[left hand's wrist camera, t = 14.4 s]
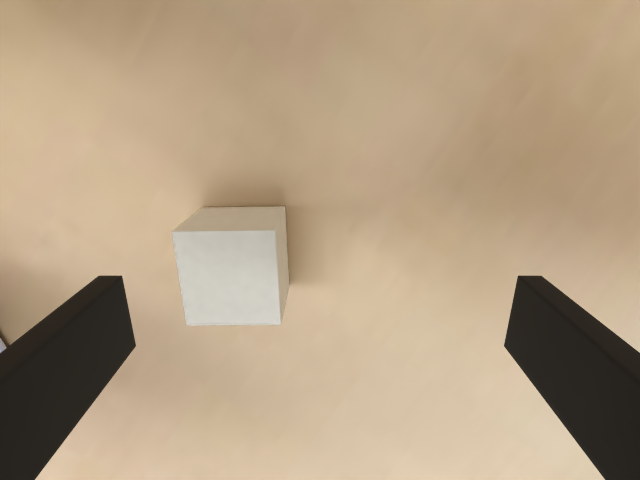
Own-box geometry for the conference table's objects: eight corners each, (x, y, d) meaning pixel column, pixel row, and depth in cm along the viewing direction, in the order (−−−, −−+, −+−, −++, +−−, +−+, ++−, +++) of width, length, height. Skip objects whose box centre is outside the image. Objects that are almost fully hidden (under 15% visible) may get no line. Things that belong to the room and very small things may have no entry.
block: (285, 205, 22) (275, 230, 17) (289, 285, 23) (281, 325, 19) (201, 207, 22) (170, 231, 17) (211, 286, 23) (185, 325, 19)
